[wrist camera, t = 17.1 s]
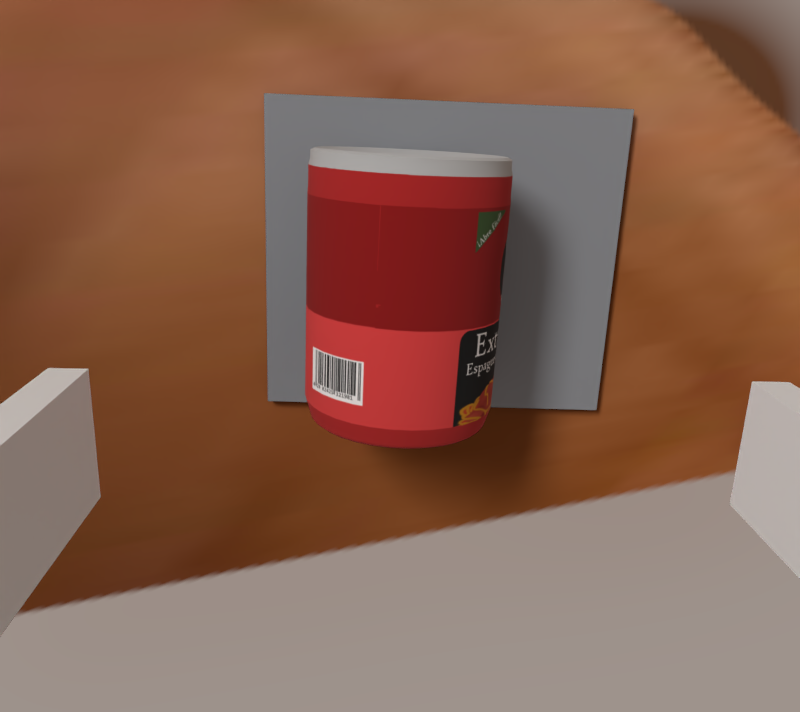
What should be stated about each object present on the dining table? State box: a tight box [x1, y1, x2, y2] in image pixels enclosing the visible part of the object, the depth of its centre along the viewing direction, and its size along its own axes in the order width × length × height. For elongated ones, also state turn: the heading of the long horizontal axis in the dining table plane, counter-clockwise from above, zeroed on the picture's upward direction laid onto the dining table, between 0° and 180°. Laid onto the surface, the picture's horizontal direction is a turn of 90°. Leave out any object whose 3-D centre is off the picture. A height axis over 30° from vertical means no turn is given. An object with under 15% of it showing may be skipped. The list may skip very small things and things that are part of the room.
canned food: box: [305, 146, 513, 449], centre depth 31 cm, size 8×8×11 cm
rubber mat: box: [264, 93, 634, 410], centre depth 35 cm, size 16×14×1 cm
